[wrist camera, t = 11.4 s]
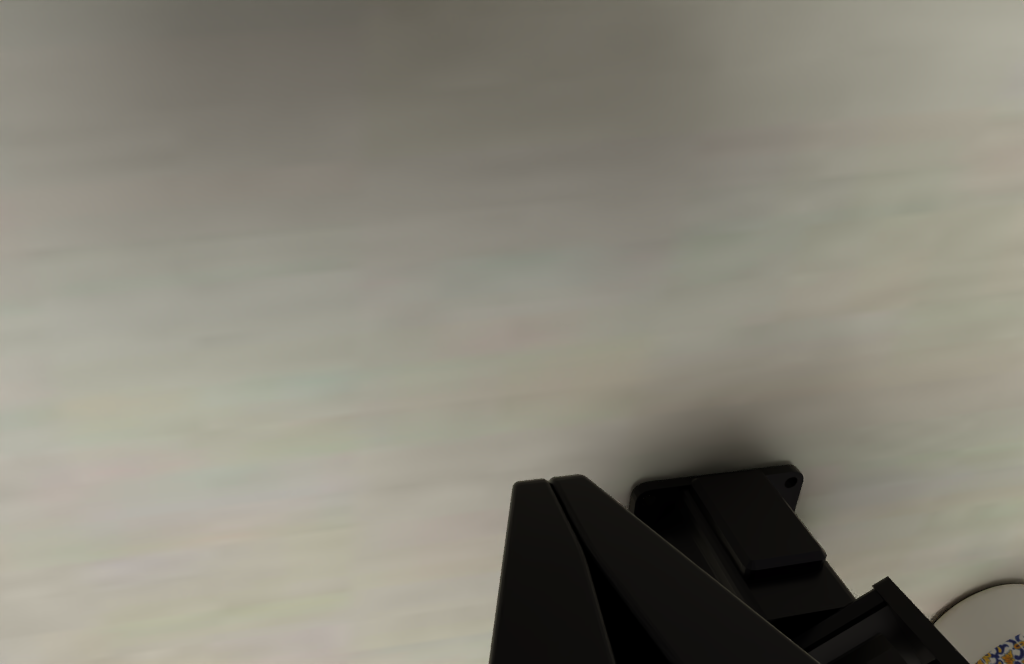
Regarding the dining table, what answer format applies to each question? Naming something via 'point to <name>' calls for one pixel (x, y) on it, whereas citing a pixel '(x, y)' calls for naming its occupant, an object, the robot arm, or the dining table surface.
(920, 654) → the robot arm
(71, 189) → the dining table surface
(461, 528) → the dining table surface
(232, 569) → the dining table surface
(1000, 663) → the bath foam
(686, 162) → the dining table surface
